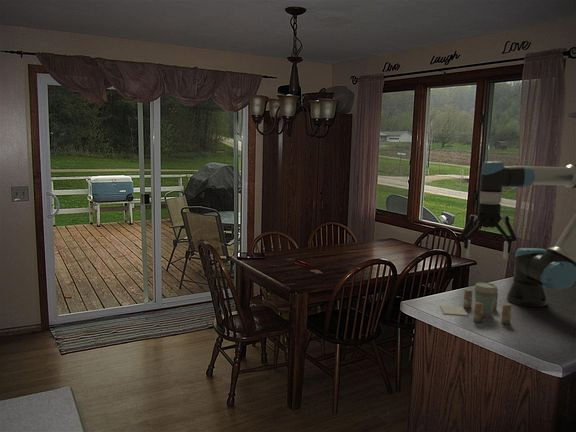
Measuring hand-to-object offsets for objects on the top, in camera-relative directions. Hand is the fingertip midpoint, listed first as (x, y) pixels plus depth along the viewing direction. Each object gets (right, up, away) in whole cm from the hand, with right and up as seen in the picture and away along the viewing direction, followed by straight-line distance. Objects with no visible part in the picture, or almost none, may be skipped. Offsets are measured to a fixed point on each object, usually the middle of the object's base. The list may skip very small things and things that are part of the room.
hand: (486, 257), depth 184 cm
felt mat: (-10, -22, +7) cm, 25 cm away
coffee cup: (0, -23, +3) cm, 23 cm away
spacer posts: (0, -22, +3) cm, 23 cm away
